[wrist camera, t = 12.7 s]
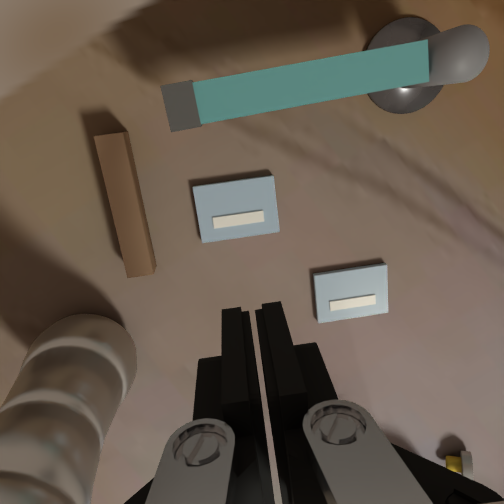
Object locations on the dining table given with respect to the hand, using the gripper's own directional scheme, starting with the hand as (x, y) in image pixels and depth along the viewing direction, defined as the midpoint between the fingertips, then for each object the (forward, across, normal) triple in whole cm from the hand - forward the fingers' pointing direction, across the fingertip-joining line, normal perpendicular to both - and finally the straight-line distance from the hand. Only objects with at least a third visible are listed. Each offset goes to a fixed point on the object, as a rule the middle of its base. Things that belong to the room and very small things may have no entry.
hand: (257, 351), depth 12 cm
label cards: (+16, -3, +3) cm, 17 cm away
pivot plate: (+16, -11, -7) cm, 21 cm away
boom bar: (+16, -5, -7) cm, 18 cm away
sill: (+16, +6, -2) cm, 17 cm away
